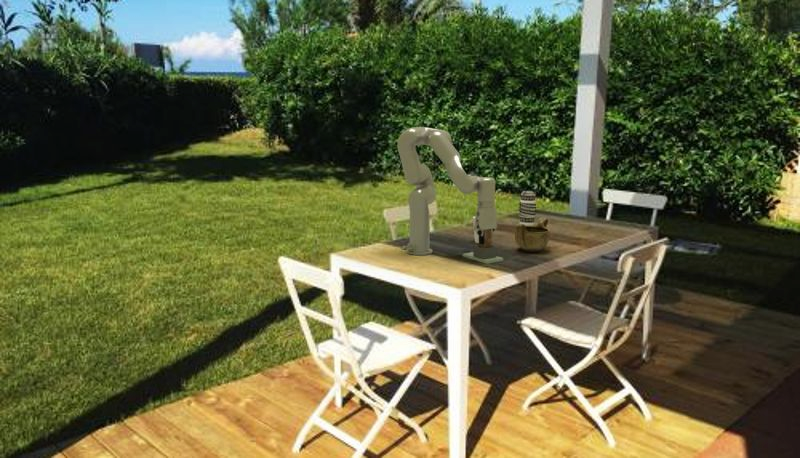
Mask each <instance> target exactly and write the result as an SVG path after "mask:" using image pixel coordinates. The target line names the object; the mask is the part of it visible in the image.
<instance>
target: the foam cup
mask: <svg viewBox="0 0 800 458" xmlns="http://www.w3.org/2000/svg"><path fill="white" fill-rule="evenodd" d="M475 217H476V215H474V216H472V226H473V228H474V227H475ZM473 232H474V233H473V235H474V243H476V244H479V235H478V234H477V233H476V232H475V231H474V230H473Z"/></svg>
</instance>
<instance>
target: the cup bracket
mask: <svg viewBox="0 0 800 458" xmlns="http://www.w3.org/2000/svg"><path fill="white" fill-rule="evenodd" d="M472 247H473V249H472V250H473V251H471V252H465V253H462V257H464V258H466V259H470V260H474V261H476V262H480V263H483V264H493V263H497V262H499V263H500V262H503V261H504V257H500V256H498V255H497V251H498V250H497V249H498V247H497V246H496V245H493V244H491V247H489V248H482V247H479V244H477V245H476V244H475V245H473V246H472Z"/></svg>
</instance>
